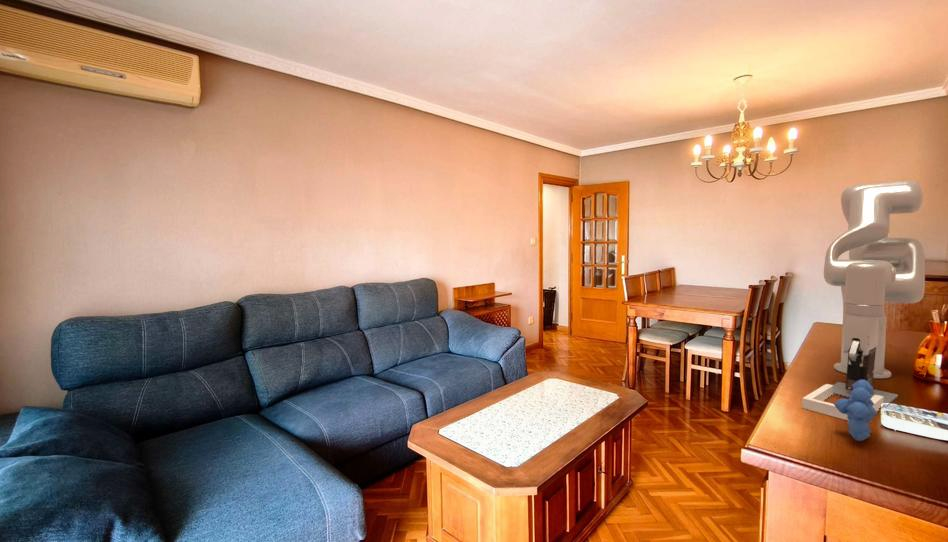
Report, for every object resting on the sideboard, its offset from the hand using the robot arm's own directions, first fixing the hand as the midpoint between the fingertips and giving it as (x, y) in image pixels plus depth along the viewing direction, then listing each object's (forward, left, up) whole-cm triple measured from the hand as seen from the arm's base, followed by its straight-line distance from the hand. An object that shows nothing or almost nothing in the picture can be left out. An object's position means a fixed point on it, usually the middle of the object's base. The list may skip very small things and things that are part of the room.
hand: (860, 376), depth 106 cm
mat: (-1, 0, -5) cm, 5 cm away
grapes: (+30, +6, -5) cm, 31 cm away
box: (0, 0, -4) cm, 4 cm away
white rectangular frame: (+13, 0, -5) cm, 14 cm away
